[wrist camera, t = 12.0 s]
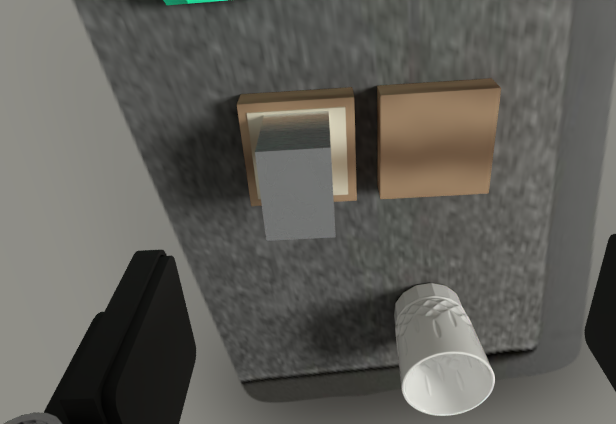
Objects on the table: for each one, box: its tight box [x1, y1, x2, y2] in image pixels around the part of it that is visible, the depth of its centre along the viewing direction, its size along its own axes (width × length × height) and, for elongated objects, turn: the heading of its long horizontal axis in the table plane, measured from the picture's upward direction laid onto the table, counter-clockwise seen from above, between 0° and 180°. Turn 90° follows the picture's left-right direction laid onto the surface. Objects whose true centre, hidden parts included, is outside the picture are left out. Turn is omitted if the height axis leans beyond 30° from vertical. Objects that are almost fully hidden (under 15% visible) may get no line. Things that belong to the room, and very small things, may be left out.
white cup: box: [394, 283, 495, 416], centre depth 49 cm, size 8×8×10 cm
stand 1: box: [237, 87, 357, 206], centre depth 43 cm, size 9×9×3 cm
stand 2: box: [377, 78, 501, 199], centre depth 43 cm, size 9×9×2 cm
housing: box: [255, 111, 335, 241], centre depth 39 cm, size 7×5×7 cm
